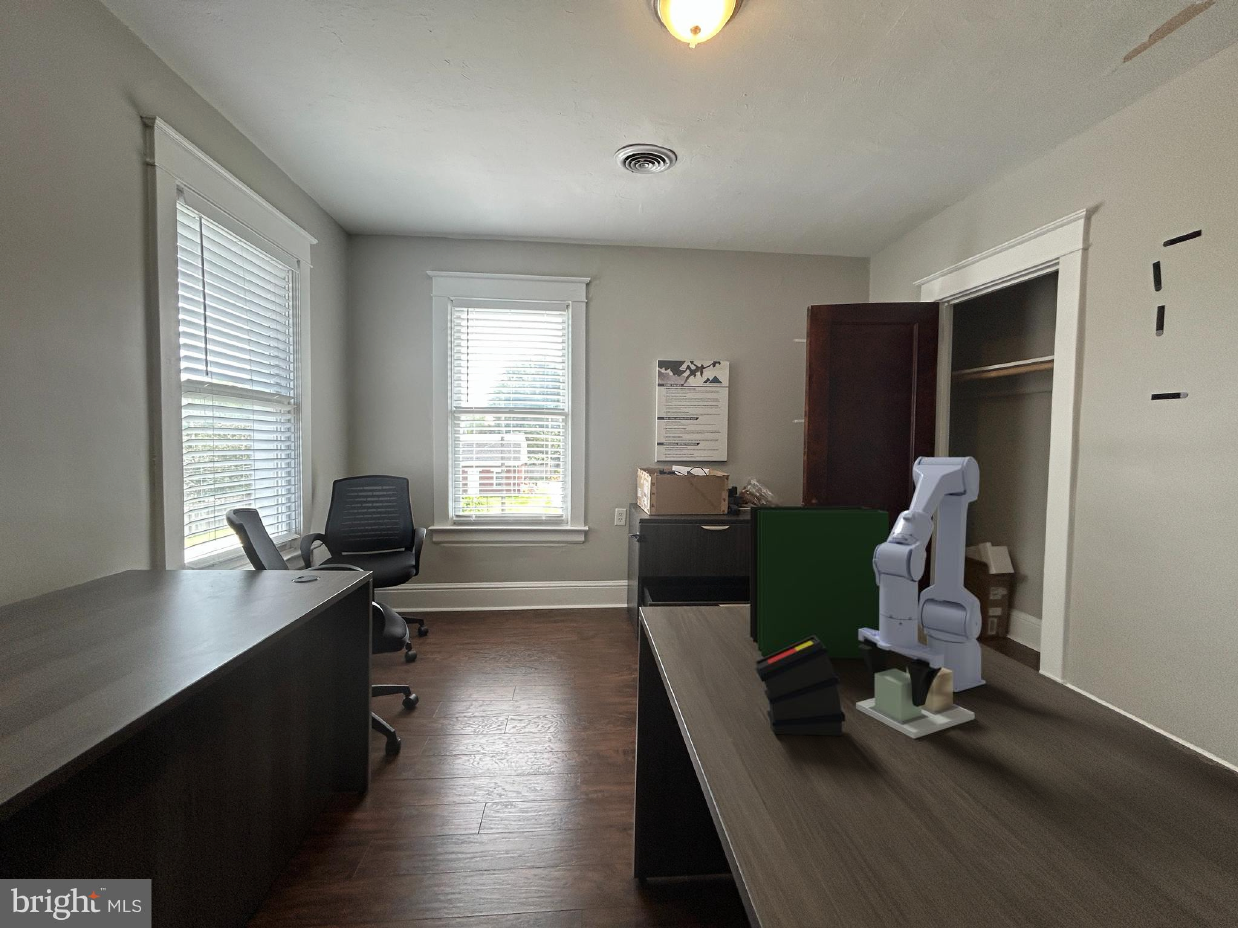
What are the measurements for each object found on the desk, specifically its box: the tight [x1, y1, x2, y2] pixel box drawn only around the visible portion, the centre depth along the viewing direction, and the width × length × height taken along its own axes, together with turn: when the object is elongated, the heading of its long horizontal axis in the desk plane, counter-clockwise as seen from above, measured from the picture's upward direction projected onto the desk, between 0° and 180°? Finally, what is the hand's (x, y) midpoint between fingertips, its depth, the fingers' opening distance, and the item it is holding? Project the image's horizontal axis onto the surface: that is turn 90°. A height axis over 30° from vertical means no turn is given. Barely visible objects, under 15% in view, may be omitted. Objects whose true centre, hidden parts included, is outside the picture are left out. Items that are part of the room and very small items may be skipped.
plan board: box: [855, 697, 975, 739], centre depth 91 cm, size 15×11×1 cm
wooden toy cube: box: [906, 667, 954, 712], centre depth 93 cm, size 5×5×6 cm
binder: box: [749, 505, 890, 660], centre depth 124 cm, size 27×15×32 cm, turn 87°
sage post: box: [874, 668, 922, 722], centre depth 89 cm, size 5×5×6 cm
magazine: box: [754, 635, 846, 737], centre depth 85 cm, size 4×13×15 cm, turn 87°
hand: (897, 695), depth 89 cm, fingers open, 7 cm apart
